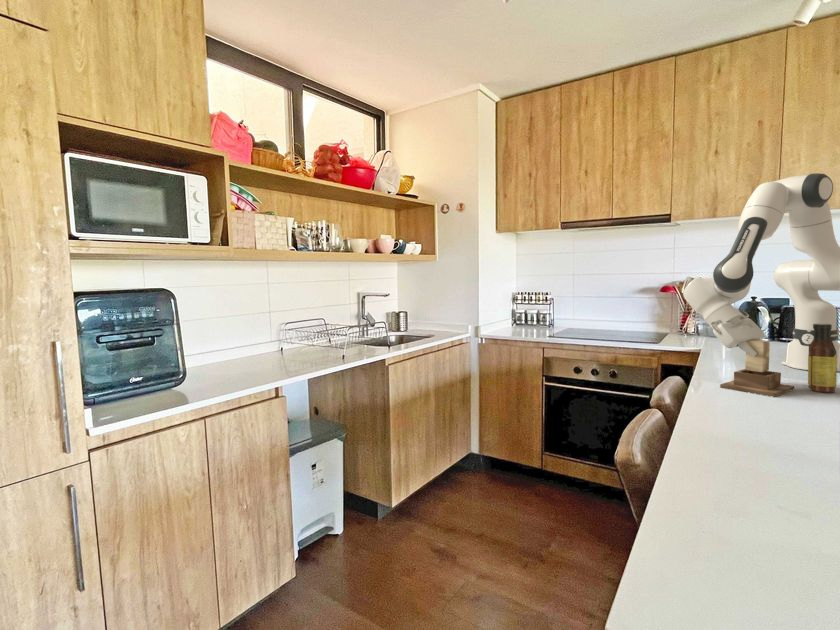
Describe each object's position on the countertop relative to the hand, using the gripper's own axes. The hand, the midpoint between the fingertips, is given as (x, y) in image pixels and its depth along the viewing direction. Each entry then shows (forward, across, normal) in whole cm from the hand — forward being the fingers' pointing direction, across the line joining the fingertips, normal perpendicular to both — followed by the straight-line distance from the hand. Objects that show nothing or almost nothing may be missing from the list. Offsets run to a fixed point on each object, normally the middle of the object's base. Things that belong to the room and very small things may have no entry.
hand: (760, 354), depth 135 cm
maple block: (+3, 0, +4) cm, 5 cm away
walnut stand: (+7, 0, +8) cm, 11 cm away
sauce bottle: (+16, +11, 0) cm, 19 cm away
